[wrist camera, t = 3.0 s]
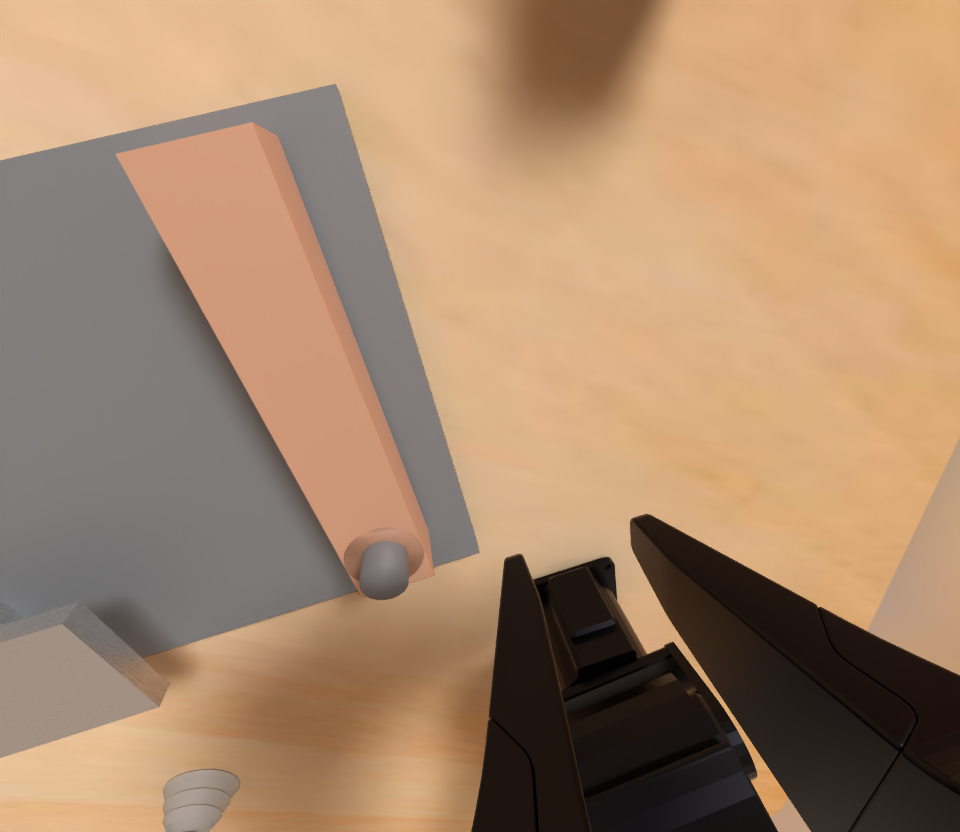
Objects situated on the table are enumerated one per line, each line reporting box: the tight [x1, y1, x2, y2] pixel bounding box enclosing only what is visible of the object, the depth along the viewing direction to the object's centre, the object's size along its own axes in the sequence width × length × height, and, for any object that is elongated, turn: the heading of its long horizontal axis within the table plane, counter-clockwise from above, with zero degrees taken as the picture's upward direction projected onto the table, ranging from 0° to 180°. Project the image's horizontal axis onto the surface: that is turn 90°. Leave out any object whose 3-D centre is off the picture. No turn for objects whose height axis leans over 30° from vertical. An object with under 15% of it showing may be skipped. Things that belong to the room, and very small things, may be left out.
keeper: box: [0, 599, 170, 758], centre depth 19 cm, size 6×10×6 cm, turn 103°
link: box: [116, 122, 434, 600], centre depth 16 cm, size 18×4×4 cm, turn 13°
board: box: [0, 84, 480, 658], centre depth 18 cm, size 22×25×1 cm
